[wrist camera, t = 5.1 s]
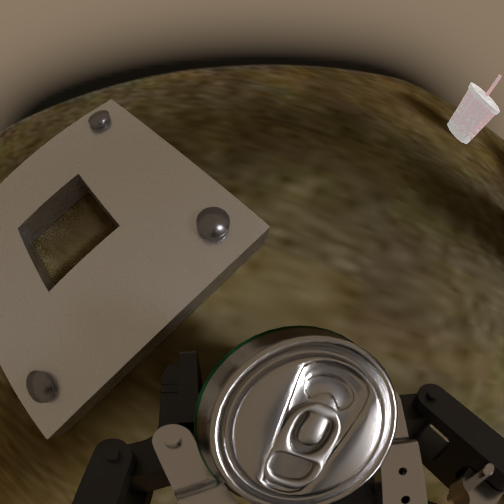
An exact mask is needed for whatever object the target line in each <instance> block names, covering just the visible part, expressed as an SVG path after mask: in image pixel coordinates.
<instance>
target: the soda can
mask: <svg viewBox="0 0 504 504" xmlns="http://www.w3.org/2000/svg"><path fill="white" fill-rule="evenodd" d="M397 419H398V409H397V400H396V395H395V390H394V388H393V385H392V382H391V380H390V378H389V376H388V374H387V373H386V371H385V369H384V368H383V367H382V365H381V364H380V363H379V362H378V361H377V359H376V358H374V357H373V356H372V355H371V354H370V353H369V352H367V351H366V350H364V349H363V348H361V347H359V346H358V345H356V344H355V343H354V342H352V341H351V340H349V339H347V338H346V337H344V336H342V335H340V334H338V333H335V332H333V331H330V330H327V329H323V328H318V327H313V326H287V327H281V328H276V329H272V330H268V331H265V332H263V333H260V334H258V335H255V336H253V337H251V338H249V339H248V340H246V341H244V342H242V343H241V344H239V345H238V346H236V347H235V348H234V349H233V350H231V351H230V352H229V353H227V354H226V355H225V356H224V357H223V358H222V360H221V361H220V362H219V363H218V364H217V365H216V366H215V367H214V369H213V370H212V372H211V373H210V374H209V376H208V377H207V379H206V381H205V383H204V385H203V387H202V389H201V391H200V393H199V397H198V400H197V404H196V408H195V416H194V433H195V441H196V444H197V448H198V451H199V454H200V456H201V458H202V460H203V462H204V464H205V466H206V467H207V469H208V470H209V471H210V473H211V474H212V475H213V477H214V478H215V479H216V480H217V481H221V482H223V483H224V484H225V486H226V487H227V489H228V490H230V491H231V492H233V493H234V494H236V495H238V496H240V497H242V498H244V499H246V500H248V501H249V502H251V503H253V504H335V503H337V502H339V501H341V500H343V499H345V498H346V497H348V496H350V495H351V494H353V493H354V492H356V491H357V490H358V489H360V488H361V487H362V486H363V485H364V484H365V483H366V482H367V481H368V480H369V479H370V478H371V477H372V476H373V475H374V474H375V473H376V471H377V470H378V469H379V468H380V466H381V465H382V463H383V461H384V460H385V458H386V456H387V455H388V453H389V450H390V448H391V445H392V443H393V440H394V436H395V432H396V428H397Z"/></svg>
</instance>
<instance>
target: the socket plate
mask: <svg viewBox="0 0 504 504" xmlns="http://www.w3.org/2000/svg"><path fill="white" fill-rule="evenodd" d="M88 192H89V193H90V194H91V196H92V197H93V198H94V199H95V201H96V202H97V203H98V205H99V206H100V207H101V208H102V210H103V211H104V212H105V213H106V215H107V216H108V217H109V218H110V220H111V221H112V222H113V223H114V224H115V226H116V227H117V229H115V230H114V231H113V232H112V233H111V234H110V235H109V236H107V237H106V238H105V239H104V240H103V241H102V242H101V243H99V244H98V245H97V246H96V247H95V248H94V249H93V250H92V251H91V252H89V253H88V254H87V255H86V256H85V257H84V258H83V259H82V260H81V261H80V262H79V263H78V264H77V265H75V266H74V267H73V268H72V269H71V270H70V271H69V272H68V273H67V274H66V275H65V276H64V277H63V278H62V279H61V280H60V281H59V282H58V283H57V284H56V285H55V283H54V282H53V280H52V278H51V276H50V275H49V273H48V271H47V269H46V267H45V266H44V264H43V262H42V260H41V258H40V256H39V254H38V252H37V250H36V248H35V246H34V244H33V242H34V241H35V240H36V239H37V238H38V237H39V236H40V235H41V234H42V233H43V232H44V231H45V230H46V229H47V228H48V227H50V226H51V225H52V224H53V223H54V222H55V221H56V220H57V219H58V218H59V217H60V216H62V215H63V214H64V213H65V212H66V211H67V210H68V209H69V208H71V207H72V206H73V205H74V204H75V203H76V202H78V201H79V200H80V199H81V198H82V197H84V196H85V195H86V194H87V193H88ZM269 229H270V226H269V225H267V224H266V223H265V222H264V221H263V220H262V219H260V218H259V217H258V216H257V215H256V214H255V213H253V212H252V211H251V210H250V209H249V208H247V207H246V206H245V205H244V204H243V203H241V202H240V201H239V200H238V199H237V198H236V197H234V196H233V195H232V194H231V193H229V192H228V191H227V190H226V189H225V188H223V187H222V186H221V185H220V184H219V183H217V182H216V181H215V180H214V179H213V178H211V177H210V176H209V175H208V174H206V173H205V172H204V171H203V170H201V169H200V168H199V167H198V166H197V165H195V164H194V163H193V162H192V161H190V160H189V159H188V158H187V157H185V156H184V155H183V154H182V153H180V152H179V151H178V150H177V149H175V148H174V147H173V146H172V145H170V144H169V143H168V142H166V141H165V140H164V139H163V138H161V137H160V136H159V135H158V134H156V133H155V132H154V131H152V130H151V129H150V128H149V127H147V126H146V125H145V124H143V123H142V122H141V121H139V120H138V119H137V118H136V117H134V116H133V115H132V114H130V113H129V112H128V111H126V110H125V109H124V108H122V107H121V106H120V105H118V104H117V103H116V102H114V101H113V100H112V99H111V100H109V101H108V102H106V103H104V104H103V105H101V106H99V107H98V108H96V109H94V110H93V111H91V112H90V113H88V114H86V115H85V116H83V117H82V118H80V119H79V120H77V121H76V122H74V123H73V124H72V125H70V126H69V127H67V128H66V129H64V130H63V131H62V132H60V133H59V134H58V135H56V136H55V137H54V138H52V139H51V140H50V141H48V142H47V143H46V144H45V145H43V146H42V147H41V148H40V149H38V150H37V151H36V152H35V153H33V154H32V155H31V156H30V157H29V158H28V159H26V160H25V161H24V162H23V163H22V164H21V165H20V166H18V167H17V168H16V169H15V170H14V171H13V172H12V173H11V174H10V175H9V176H8V177H7V178H6V179H5V180H4V181H3V182H2V183H1V184H0V365H1V367H2V369H3V371H4V373H5V375H6V377H7V379H8V380H9V382H10V384H11V386H12V388H13V389H14V391H15V393H16V394H17V396H18V398H19V399H20V401H21V403H22V404H23V406H24V407H25V409H26V411H27V412H28V414H29V415H30V417H31V418H32V420H33V421H34V422H35V424H36V425H37V427H38V428H39V429H40V431H41V432H42V434H43V435H44V436H45V438H46V439H47V440H48V439H51V438H54V437H57V436H60V435H63V434H66V433H67V432H68V431H69V430H70V429H71V428H72V427H73V426H74V425H75V424H76V423H77V422H78V421H79V420H80V419H81V418H82V417H84V416H85V415H86V414H87V413H88V412H89V411H90V410H91V409H92V408H93V407H94V406H95V405H96V404H97V403H98V402H99V401H100V400H101V399H102V398H104V397H105V396H106V395H107V394H108V393H109V392H110V391H111V390H112V389H113V388H114V387H115V386H116V385H117V384H118V383H119V382H120V381H121V380H122V379H123V378H124V377H126V376H127V375H128V374H129V373H130V372H131V371H132V370H133V369H134V368H135V367H136V366H137V365H138V364H139V363H140V362H141V361H142V360H143V359H144V358H145V357H146V356H148V355H149V354H150V353H151V352H152V351H153V350H154V349H155V348H156V347H157V346H158V345H159V344H160V343H161V342H162V341H163V340H164V339H165V338H166V337H167V336H168V335H169V334H171V333H172V332H173V331H174V330H175V329H176V328H177V327H178V326H179V325H180V324H181V323H182V322H183V321H184V320H185V319H186V318H187V317H188V316H189V315H190V314H191V313H192V312H194V311H195V310H196V309H197V308H198V307H199V306H200V305H201V304H202V303H203V302H204V301H205V300H206V299H207V298H208V297H209V296H210V295H211V294H212V293H213V292H214V291H215V290H216V289H217V288H219V287H220V286H221V285H222V284H223V283H224V282H225V281H226V280H227V279H228V278H229V277H230V276H231V275H232V274H233V273H234V272H235V271H236V270H237V269H238V268H239V267H240V266H241V265H242V264H243V263H245V262H246V261H247V260H248V259H249V258H250V257H251V256H252V255H253V254H254V253H255V252H256V251H257V250H258V249H259V248H260V247H261V246H262V245H263V244H264V242H265V240H266V237H267V234H268V231H269Z"/></svg>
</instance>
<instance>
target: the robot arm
mask: <svg viewBox="0 0 504 504" xmlns="http://www.w3.org/2000/svg"><path fill="white" fill-rule="evenodd" d="M202 387H203V384H202V377H201V371H200V365H199V359H198V354H197V351H187V352H179V364H176V365H168V366H167V367H166V369H165V370H164V372H163V374H162V386H161V398H160V415H159V426H158V429H157V431H156V432H155V433H154V435H153V436H151V437H150V438H148V439H146V440H144V441H140V442H136V443H132V444H128V445H127V444H126V443H125V442H123V441H122V440H119V439H106V440H104V441H102V442H100V443H99V444H98V445H97V446H96V448H95V450H94V452H93V455H92V457H91V459H90V461H89V464H88V466H87V468H86V471H85V473H84V475H83V478H82V480H81V483H80V485H79V488H78V490H77V493H76V495H75V498H74V500H73V503H72V504H150V502H151V498H152V495H153V491H154V490H156V489H160V488H164V487H167V486H172V488H173V490H174V492H175V496H176V498H177V500H178V502H179V504H238V503H237V501H236V500H235V499H234V497H233V496H232V494H231V493H230V492H229V490H228V489H227V487H226V486H225V484H224V483H223V482H221V481H217V480H216V479H215V478H214V477H213V475H212V474H211V473H210V471H209V470H208V469H207V467H206V466H205V464H204V462H203V460H202V458H201V456H200V454H199V451H198V448H197V444H196V441H195V433H194V416H195V408H196V404H197V400H198V397H199V393H200V391H201V389H202ZM395 395H396V400H397V409H398V419H397V428H396V432H395V436H394V440H393V443H392V445H391V448H390V450H389V453H388V455H387V456H386V458H385V460H384V461H383V463H382V465H381V466H380V468H379V469H378V470H377V471H376V473H375V474H374V475H373V476H372V477H371V478H370V479H369V480H368V481H367V482H366V483H365V484H364V485H363V486H362V487H361V488H360V489H358V490H357V491H356V492H354V493H353V494H351V495H350V496H348V497H346V498H345V499H343V500H341V501H339V502H337V503H335V504H436V503H433V502H430V501H427V494H426V486H425V479H424V472H423V466H422V464H423V465H424V466H425V467H426V468H427V469H428V470H429V471H431V472H432V473H433V474H434V475H435V476H436V477H437V478H438V479H439V480H440V481H441V482H442V483H443V484H444V485H445V486H446V487H447V488H449V494H448V495H447V501H448V502H450V503H454V504H496V503H497V502H498V500H499V499H500V497H501V496H502V494H503V493H504V438H503V437H502V436H500V435H499V434H498V433H497V432H496V431H494V430H493V429H492V428H491V427H489V426H488V425H487V424H486V423H485V422H483V421H482V420H481V419H480V418H478V417H477V416H476V415H475V414H473V413H472V412H471V411H470V410H468V409H467V408H466V407H465V406H464V405H462V404H461V403H460V402H459V401H457V400H456V399H455V398H454V397H452V396H451V395H450V394H449V393H447V392H446V391H445V390H444V389H442V388H441V387H440V386H438V385H435V384H425V385H423V386H422V387H421V388H420V389H419V390H418V392H417V394H407V395H398V394H397V393H396V392H395ZM430 424H432V425H433V426H434V427H435V428H436V429H438V430H439V431H440V432H441V433H442V434H443V435H444V436H445V437H447V438H448V440H449V442H447V441H445V440H444V439H443V438H442V437H441V436H440V435H439V434H438V433H437V432H435V431H434V430H433V429H432V428H431V427H430Z"/></svg>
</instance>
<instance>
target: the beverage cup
mask: <svg viewBox="0 0 504 504" xmlns="http://www.w3.org/2000/svg"><path fill="white" fill-rule="evenodd" d="M501 77H502V76H501V75H500V74H499V76H498V77H497V78H496V80H495V81H494V83H493V84H492V86H491V87H490V88H489V90H488V91H487V93H485V92H484V91H483V90H482V89H481V88H479V87H478V86H477V85H475V84H474V83H470V85H469V86H468V88H469V89H468V91H467V93H466V95H465V96H464V98H463V100H462V101H461V103H460V105H459V106H458V108H457V109H456V111H455V113H454V114H453V116H452V117H451V119H450V121H449V122H448V124H447V125H448V128H449V130H450V131H451V133H452V134H453V135H454V136H455V137H456V138H457V139H458V140H460V141H461V142H463V143H465V144H467V143H468V142H469V141H470V140H471V139H472V138H473V137H474V136H475V135H476V134H477V133H478V132H479V131H480V130H481V129H482V128H483V127H484V126H485V125H486V124H487V123H488V122H489V120H491V118H492V117H493V116H494V115H497V114H498V113H499V112H500V110H499V108H498V106H497V105H496V104H495V102H494V101H493V100H492V99H491V98H490V97H489V96H488V95H489V94H490V93H491V91H492V90H493V88H494V87H495V86H496V84H497V83H498V81H499V80H500V78H501Z"/></svg>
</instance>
